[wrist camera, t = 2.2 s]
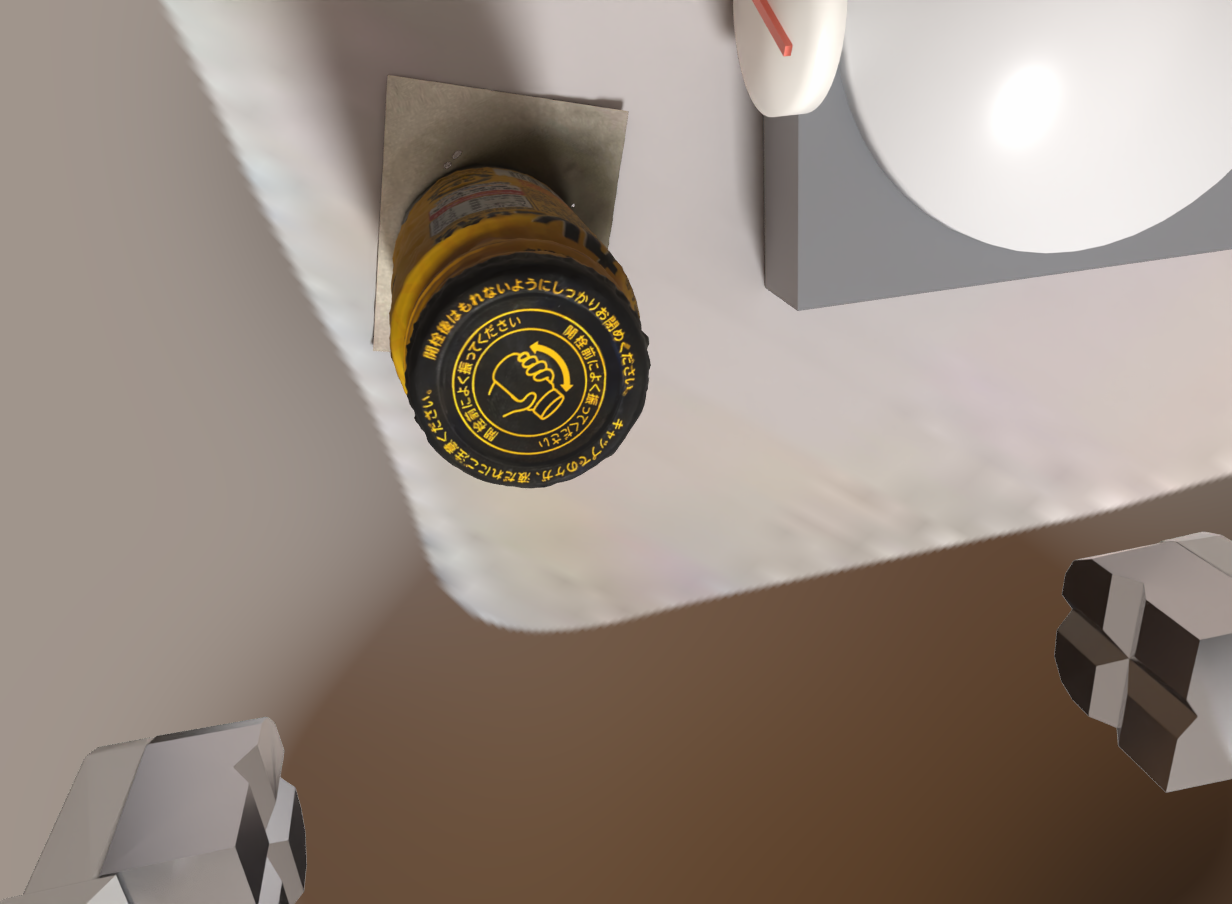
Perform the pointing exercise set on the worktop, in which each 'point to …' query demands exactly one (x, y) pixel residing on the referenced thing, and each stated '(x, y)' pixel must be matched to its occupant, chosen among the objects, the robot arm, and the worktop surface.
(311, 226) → the worktop surface
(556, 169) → the condiment
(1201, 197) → the scale
